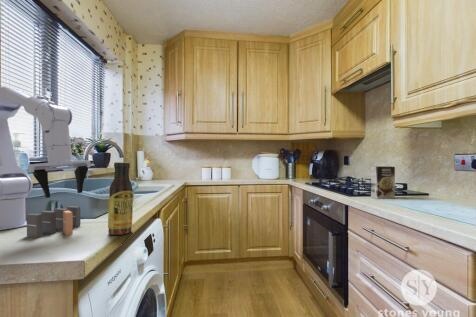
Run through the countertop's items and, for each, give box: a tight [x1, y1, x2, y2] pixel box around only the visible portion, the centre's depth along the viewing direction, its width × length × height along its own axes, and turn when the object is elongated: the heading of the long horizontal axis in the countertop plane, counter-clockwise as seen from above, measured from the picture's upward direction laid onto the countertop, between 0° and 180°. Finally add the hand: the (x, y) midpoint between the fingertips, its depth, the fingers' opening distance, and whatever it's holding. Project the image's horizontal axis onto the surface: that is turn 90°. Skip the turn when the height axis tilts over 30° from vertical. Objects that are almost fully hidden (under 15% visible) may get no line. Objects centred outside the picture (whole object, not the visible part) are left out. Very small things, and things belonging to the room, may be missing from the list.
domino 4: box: [62, 210, 74, 236], centre depth 73 cm, size 1×4×6 cm, turn 46°
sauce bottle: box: [107, 161, 134, 236], centre depth 73 cm, size 7×6×20 cm
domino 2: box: [40, 210, 57, 235], centre depth 74 cm, size 1×4×6 cm, turn 71°
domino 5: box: [66, 205, 81, 227], centre depth 81 cm, size 1×4×6 cm, turn 71°
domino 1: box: [26, 213, 44, 239], centre depth 70 cm, size 1×4×6 cm, turn 71°
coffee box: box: [370, 165, 396, 200], centre depth 133 cm, size 9×6×16 cm
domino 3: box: [54, 207, 69, 231], centre depth 77 cm, size 1×4×6 cm, turn 71°
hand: (64, 195), depth 73 cm, fingers open, 7 cm apart
